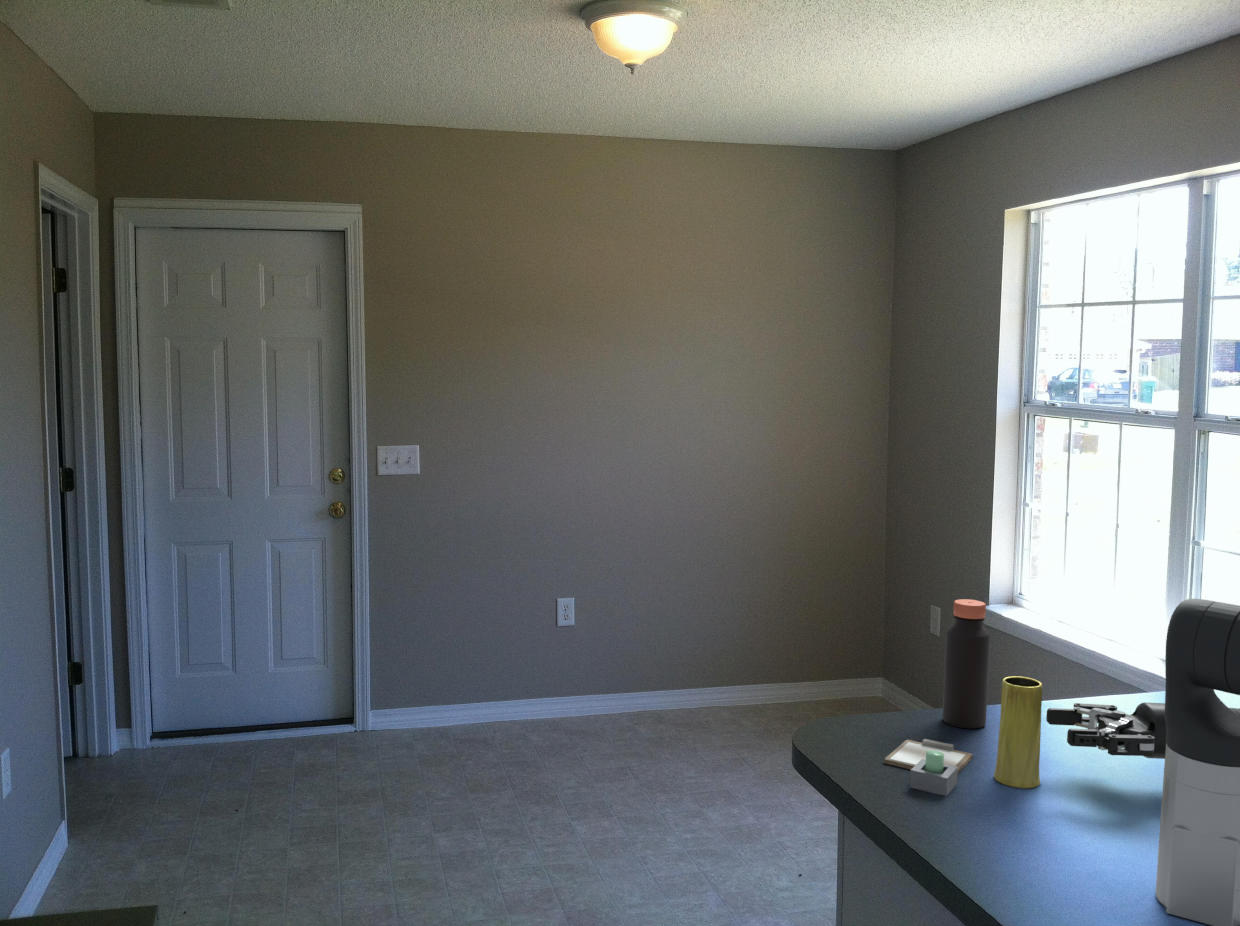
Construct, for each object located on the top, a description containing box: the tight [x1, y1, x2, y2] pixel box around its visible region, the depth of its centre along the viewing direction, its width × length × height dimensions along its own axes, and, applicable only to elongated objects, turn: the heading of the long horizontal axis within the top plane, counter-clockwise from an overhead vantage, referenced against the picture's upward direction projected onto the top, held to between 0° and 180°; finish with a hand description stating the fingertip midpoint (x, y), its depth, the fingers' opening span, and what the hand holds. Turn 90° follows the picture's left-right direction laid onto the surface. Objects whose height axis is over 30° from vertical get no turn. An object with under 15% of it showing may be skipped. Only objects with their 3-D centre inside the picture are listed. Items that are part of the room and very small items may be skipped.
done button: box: [925, 750, 944, 774], centre depth 144 cm, size 2×2×3 cm
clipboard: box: [883, 738, 974, 774], centre depth 154 cm, size 10×10×1 cm
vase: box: [993, 675, 1043, 789], centre depth 146 cm, size 6×6×14 cm
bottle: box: [941, 598, 991, 730], centre depth 170 cm, size 7×7×20 cm
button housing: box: [909, 759, 959, 797], centre depth 144 cm, size 5×5×2 cm
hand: (1057, 726), depth 146 cm, fingers open, 8 cm apart
